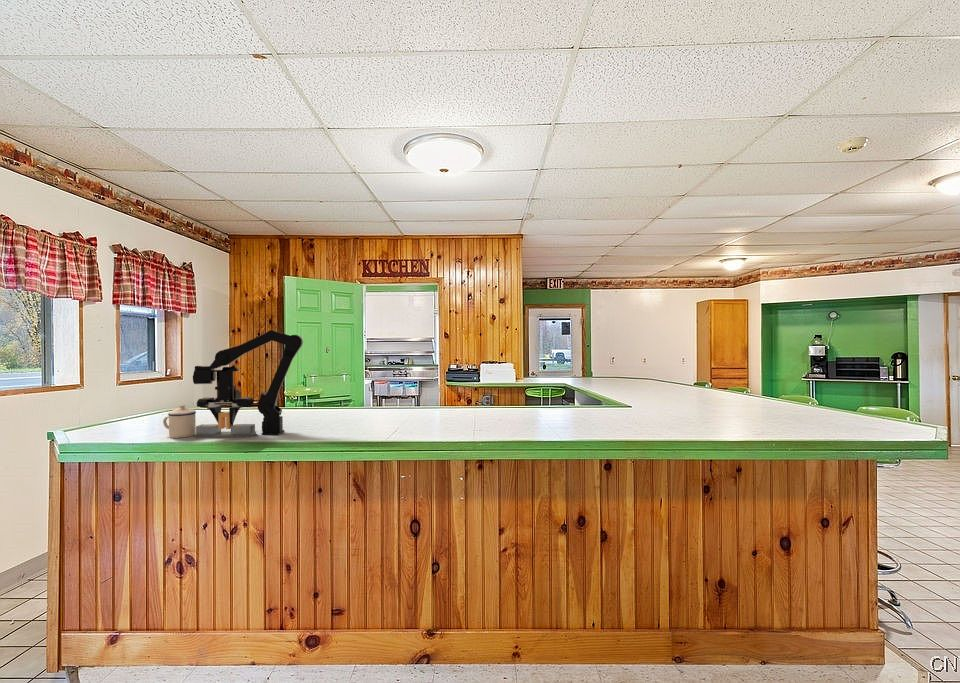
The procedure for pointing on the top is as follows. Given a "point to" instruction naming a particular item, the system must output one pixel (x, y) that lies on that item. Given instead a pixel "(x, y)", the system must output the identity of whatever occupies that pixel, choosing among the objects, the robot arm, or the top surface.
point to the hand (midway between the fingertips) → (225, 424)
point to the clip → (224, 420)
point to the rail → (214, 431)
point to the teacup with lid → (181, 422)
